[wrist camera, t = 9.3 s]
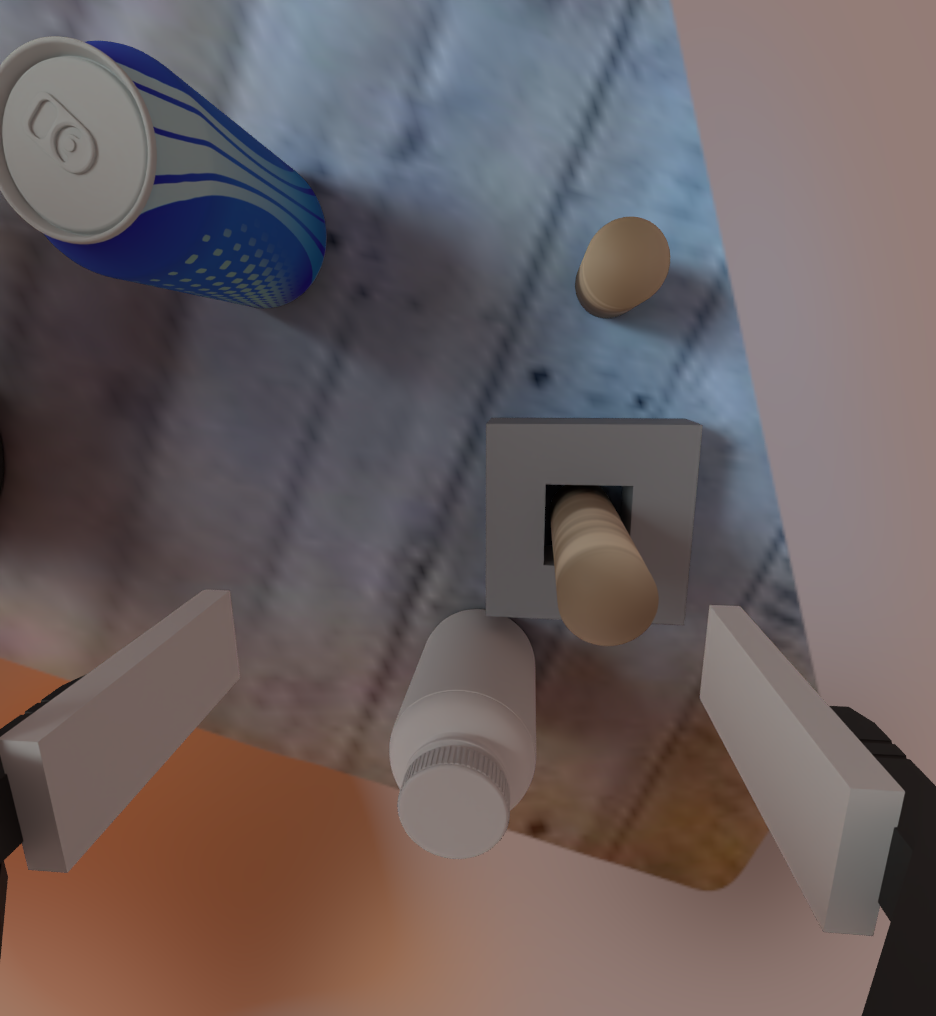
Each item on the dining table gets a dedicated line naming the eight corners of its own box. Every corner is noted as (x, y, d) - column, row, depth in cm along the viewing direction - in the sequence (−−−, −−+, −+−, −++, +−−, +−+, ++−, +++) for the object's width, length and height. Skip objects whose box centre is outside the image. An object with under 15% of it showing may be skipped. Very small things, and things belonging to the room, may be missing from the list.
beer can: (320, 153, 34) (142, -23, 19) (345, 300, 36) (201, 250, 21) (192, 178, 35) (-75, 32, 20) (222, 318, 37) (0, 285, 22)
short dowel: (573, 318, 35) (582, 307, 28) (576, 247, 34) (586, 218, 27) (641, 317, 34) (666, 305, 28) (646, 245, 33) (673, 215, 27)
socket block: (490, 591, 40) (485, 616, 36) (491, 417, 37) (486, 423, 33) (669, 599, 38) (684, 625, 34) (684, 418, 35) (702, 425, 31)
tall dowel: (550, 480, 37) (559, 552, 23) (613, 481, 37) (662, 555, 22) (548, 538, 38) (556, 643, 24) (609, 540, 38) (654, 648, 23)
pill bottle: (555, 681, 41) (565, 855, 26) (457, 720, 42) (415, 903, 28) (505, 587, 39) (486, 715, 25) (406, 631, 41) (334, 774, 27)
